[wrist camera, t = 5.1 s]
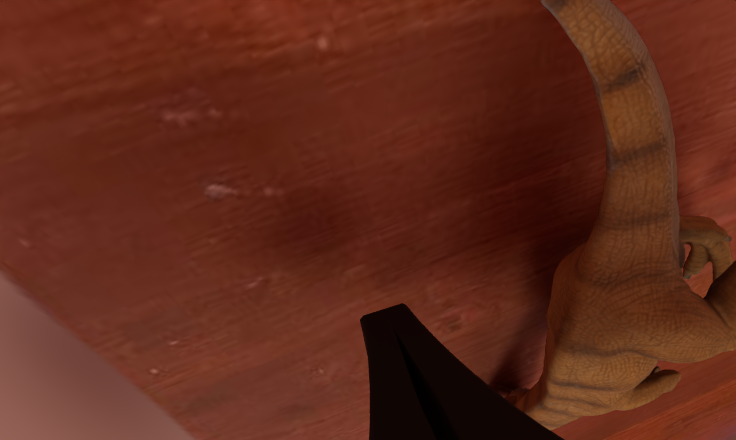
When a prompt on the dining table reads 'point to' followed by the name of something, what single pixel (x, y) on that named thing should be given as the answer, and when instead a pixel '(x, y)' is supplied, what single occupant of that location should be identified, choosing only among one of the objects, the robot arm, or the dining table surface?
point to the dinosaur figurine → (629, 248)
